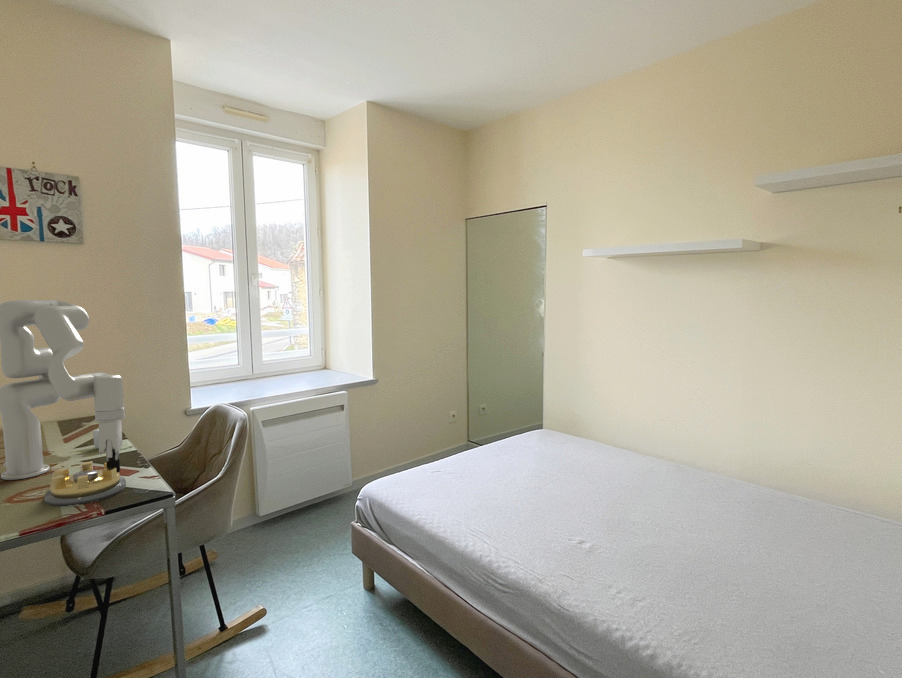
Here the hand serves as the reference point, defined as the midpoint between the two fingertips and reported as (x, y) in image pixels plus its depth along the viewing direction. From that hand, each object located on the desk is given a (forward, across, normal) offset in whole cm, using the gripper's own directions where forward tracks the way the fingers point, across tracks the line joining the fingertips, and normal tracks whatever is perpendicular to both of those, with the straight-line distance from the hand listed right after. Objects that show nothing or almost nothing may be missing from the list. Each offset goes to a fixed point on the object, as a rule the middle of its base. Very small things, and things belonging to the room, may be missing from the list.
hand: (113, 472), depth 153 cm
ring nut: (+3, 0, -7) cm, 8 cm away
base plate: (+5, 0, -7) cm, 9 cm away
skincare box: (+6, -54, -10) cm, 55 cm away
